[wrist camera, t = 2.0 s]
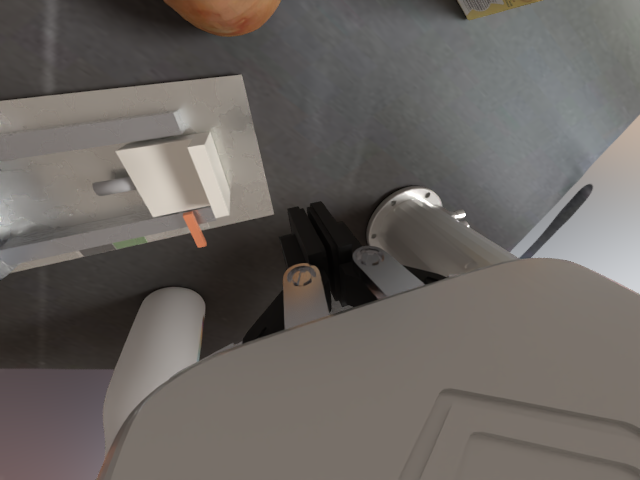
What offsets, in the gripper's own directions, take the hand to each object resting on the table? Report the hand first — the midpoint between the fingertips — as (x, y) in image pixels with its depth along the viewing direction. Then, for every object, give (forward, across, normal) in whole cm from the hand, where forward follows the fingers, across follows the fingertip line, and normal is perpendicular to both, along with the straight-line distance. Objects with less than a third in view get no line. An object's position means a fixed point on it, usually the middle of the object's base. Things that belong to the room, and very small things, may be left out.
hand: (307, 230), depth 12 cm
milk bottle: (+17, +17, +18) cm, 30 cm away
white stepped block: (+16, +10, +2) cm, 19 cm away
